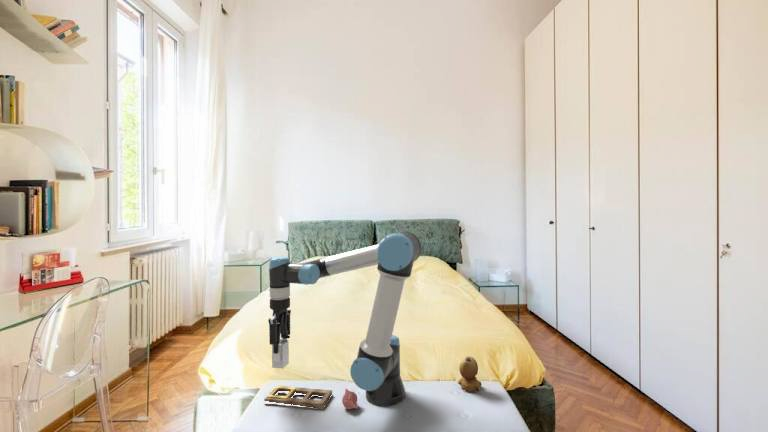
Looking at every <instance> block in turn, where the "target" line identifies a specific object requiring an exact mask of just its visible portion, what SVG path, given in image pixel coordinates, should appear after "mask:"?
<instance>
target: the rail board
mask: <svg viewBox="0 0 768 432" xmlns="http://www.w3.org/2000/svg"><path fill="white" fill-rule="evenodd" d="M278 391H289V393H288V394H287V395H286V394H285V395H275V394H276V393H277V392H278ZM295 392H296V393H302V394H306V395H305V396H303V397H302V398H296V397H294V398H291V397H292V396H293V395H294V393H295ZM312 395H318V396H323V398H321V399H309V398H310V397H311V396H312ZM331 395H332V396H333V390H332V389H323V388H322V389H320V388H319V389H318V388H310V387H308V388H306V387H295V386H284V385H283V386H282V385H277V386H276V387H275V388H273V390H272V391H270V392H269V393H268V395H266V396H265V398H264V400H263V402H264V401H269V402H276V403H284V404H291V405H292V404H293V405H300V406H306V407H313V408H318V409H317V410H324V408H325V407H326V406H327V404H328V402H329V401H330V399H331V398H330V396H331ZM332 396H331V397H332ZM329 398H330V399H329ZM328 400H329V401H328ZM327 401H328V402H327ZM326 403H327V404H326ZM324 406H325V407H324Z"/></svg>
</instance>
